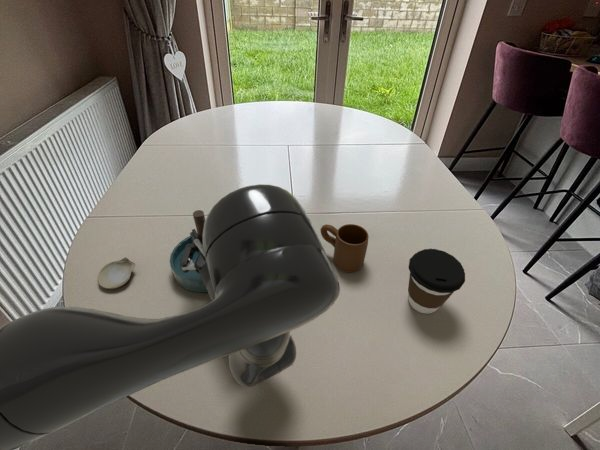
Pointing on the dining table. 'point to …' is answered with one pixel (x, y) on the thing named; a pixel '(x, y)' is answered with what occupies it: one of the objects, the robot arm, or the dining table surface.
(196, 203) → the dining table surface
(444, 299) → the coffee cup
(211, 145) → the dining table surface
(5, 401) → the robot arm
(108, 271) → the seashell
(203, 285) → the bowl
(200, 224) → the muddler
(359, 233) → the mug
